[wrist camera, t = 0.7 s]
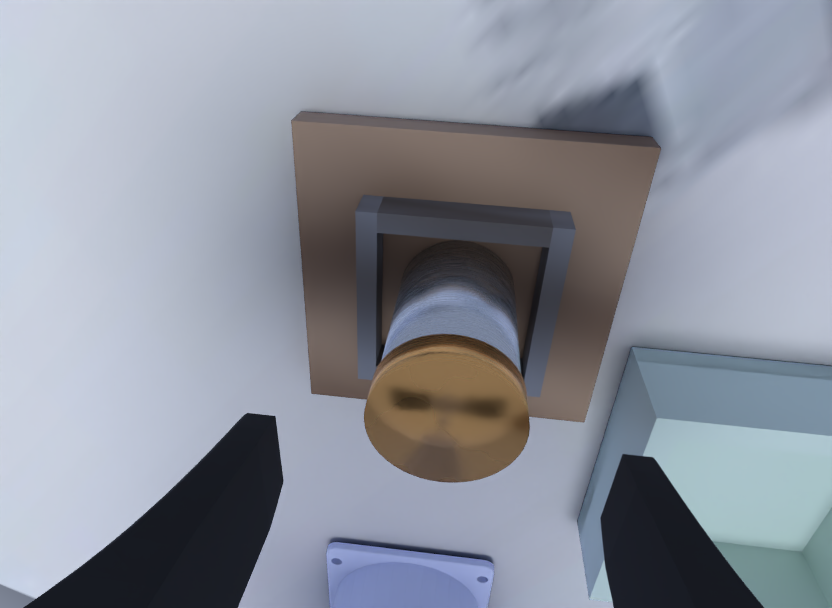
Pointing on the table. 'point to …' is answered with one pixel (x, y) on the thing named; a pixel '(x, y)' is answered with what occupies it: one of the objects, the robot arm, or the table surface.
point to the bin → (730, 465)
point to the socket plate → (467, 237)
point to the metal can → (451, 369)
